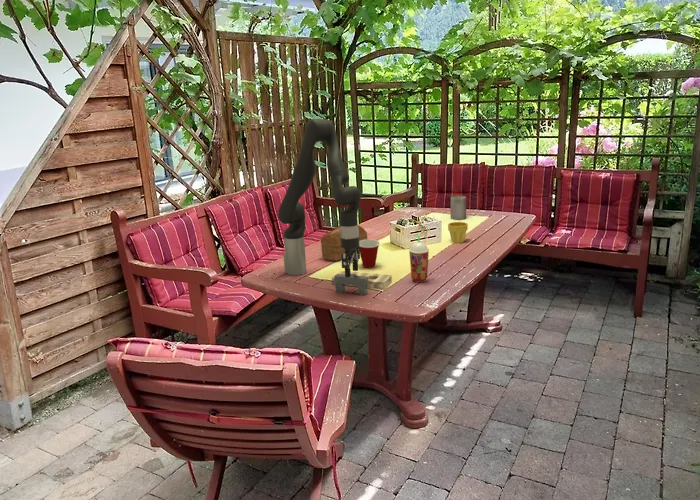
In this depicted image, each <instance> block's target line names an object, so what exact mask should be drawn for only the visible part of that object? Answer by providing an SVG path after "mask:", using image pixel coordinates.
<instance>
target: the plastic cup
mask: <svg viewBox="0 0 700 500" xmlns="http://www.w3.org/2000/svg"><path fill="white" fill-rule="evenodd" d="M380 244H381V243H380V241H378V240H376V239H368V238H367V240H361V241H359V250H360V259H361V264H362V267H363V268H365V269H374V268H375V267H376V264H377V259H378V258H377V257H378V250H379V246H380ZM373 267H374V268H373Z"/></svg>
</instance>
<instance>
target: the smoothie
mask: <svg viewBox="0 0 700 500" xmlns="http://www.w3.org/2000/svg"><path fill="white" fill-rule="evenodd" d="M420 237H421V236H420V235H418V236H417V241H416V242H414V243H412V245H411V246H410V247H409V250H408V251H409V261H410V276H411V278H412V279H411V280H412V281H413V282H416V283H424V282H426V281H427V279H428V270H429V253H430V252H429V251H430V249H429V248H428V246H427V245H426V244H425V242H421V240H420Z"/></svg>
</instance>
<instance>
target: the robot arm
mask: <svg viewBox="0 0 700 500" xmlns="http://www.w3.org/2000/svg"><path fill="white" fill-rule="evenodd" d="M317 142H319V143H320V142H321V143H323V142H324V143H325V144H326V147H327V148H328V154H327V155H328V156H327V160H326V167H327V172H328V174H329V176H330V179H331V182H332V189H333V198H334V202H335V203H336V205H339V206H347V205H348V206H347V208H345V209H344V210H341V211H340V213H339V224H340V226H339V227H340V237H341V247H342V248H344V249H345V253H344V254H342V255H341V257H342V259H341V268H342V269H344V271H345V277H351V272H358V271H359V260H360V259H361V255H360V251H359V229H358V226H359V225H358V223H359V222H358V220H359V219H358V213H359V212H358V211H359V209H360V203H361V199H362V194H361V191H360V189H359V188H358V186H356V185H351V186H344V187H343V185H346V184H347V183H348V182H349V180H350V176H349V173H348V170H347V168H346V165H345V163H344V161H343V157H342V153H341V149H340V144H339V140H338V136H337V131H336V128H335V125H334V123H333V122H332V121H331V120H330V119H325V118H311V119H309V120H308V121H307V124H306V126H305V129H304V133H303V138H302V142H301V147H300V151H299V153H298V157H297V160H296V163H295V165H294V168H293V171H292V174H291V178H290V180H289V184H288V187H287V189H286V192H285V195H284V197H283V199H282V201H281V203H280V205H279V208H278V213H277V214H278V219H279V221H280V223H281V224H284V225H288V227H287V228H286V229H285V230H284V231H283V241H284V242H283V244H284V253H283V266H284V267H283V268H284V274H286V273H288V274H287V275H289V274H290V275H289V276H301V275H304V274H306V273H307V263H306V262H307V261H306V260H307V259H306V247H305V246H306V245H305V230H306V211H305V208H304V205H303V203H301V202H300V199H302V198H301V197H303V195H304V194H305V193H306V192H307V191H308V189H309V188H310V186H311V185H312V183H313V181H314V178H315V177H316V174H317V173H316V171H317V165H316V161H315V158H314V149H315V146H316V144H317ZM351 266H352V271H351ZM303 273H304V274H303ZM300 274H301V275H300Z"/></svg>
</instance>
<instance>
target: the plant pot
mask: <svg viewBox="0 0 700 500" xmlns="http://www.w3.org/2000/svg"><path fill="white" fill-rule="evenodd" d="M468 229H469V226H468V223H467V222H463V221H453V222H449V223H447V230H448V232H449V234H450V240H451V242H452V243H455V244H460V243H461V244H462V243H464V242H465V238H466V234H467V231H468Z"/></svg>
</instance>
